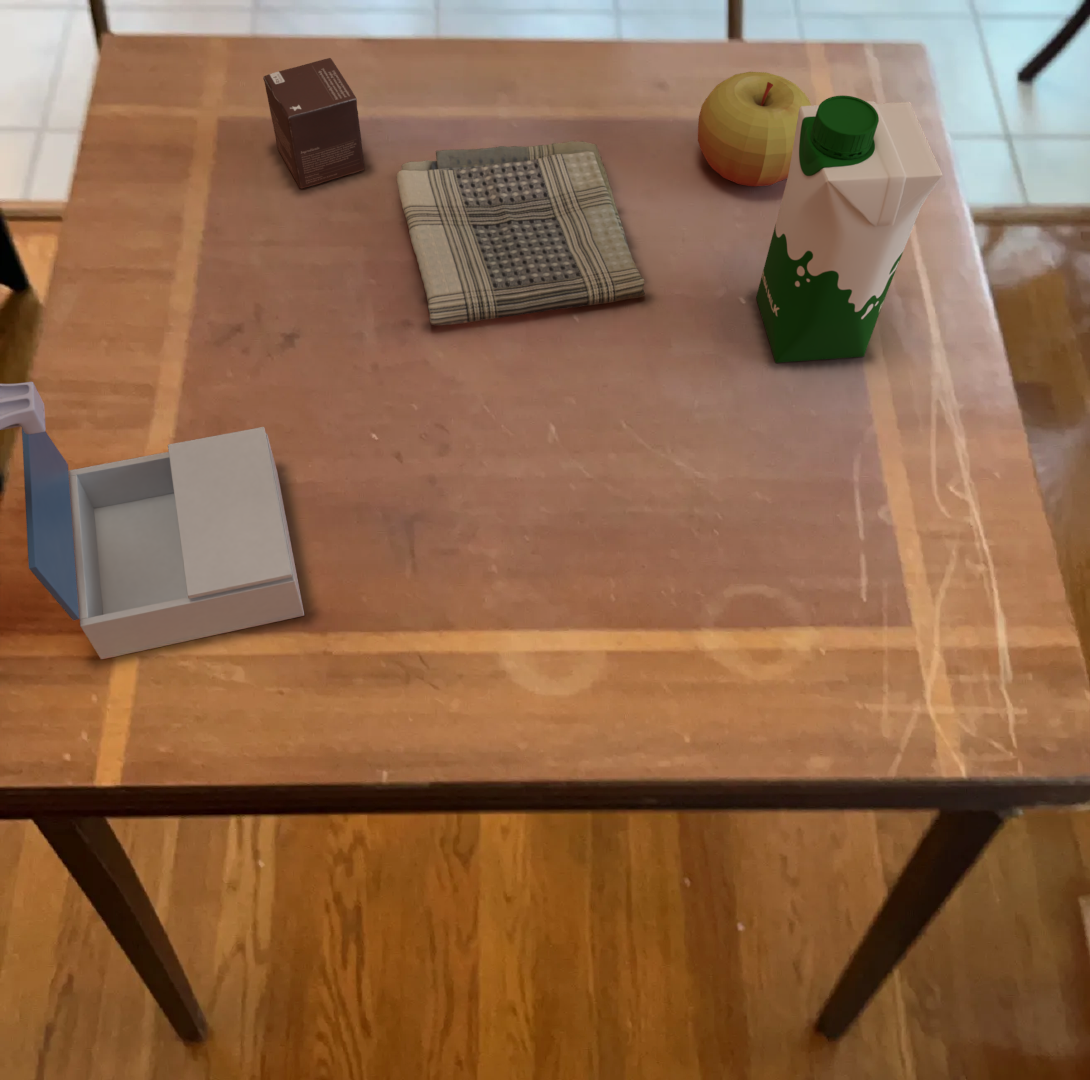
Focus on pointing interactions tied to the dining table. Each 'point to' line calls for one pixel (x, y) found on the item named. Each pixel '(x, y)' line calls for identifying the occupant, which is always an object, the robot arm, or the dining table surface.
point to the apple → (751, 127)
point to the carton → (182, 544)
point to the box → (315, 122)
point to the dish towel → (516, 231)
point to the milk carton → (842, 225)
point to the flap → (50, 520)
